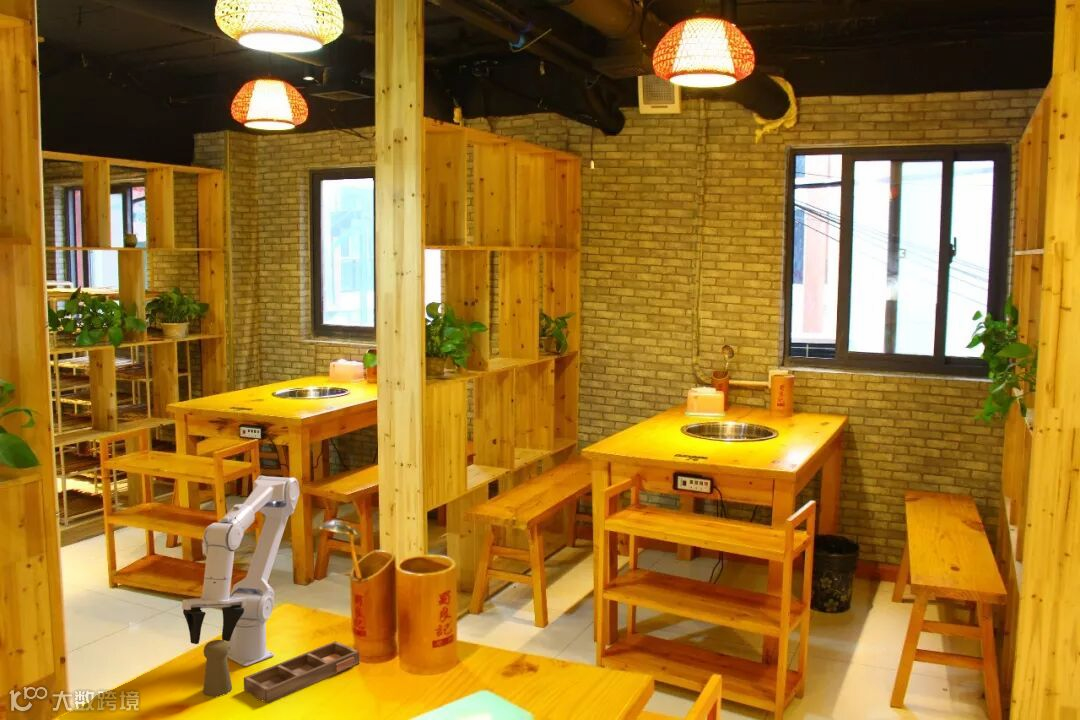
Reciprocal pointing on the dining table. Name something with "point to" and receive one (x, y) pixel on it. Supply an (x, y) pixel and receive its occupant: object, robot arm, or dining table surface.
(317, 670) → the spice rack
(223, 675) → the pepper mill
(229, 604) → the robot arm
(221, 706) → the dining table surface
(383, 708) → the dining table surface
